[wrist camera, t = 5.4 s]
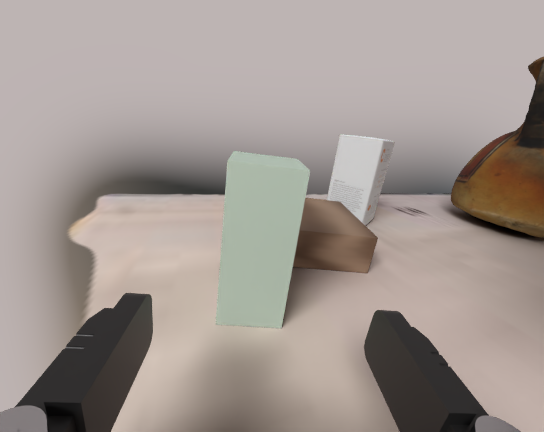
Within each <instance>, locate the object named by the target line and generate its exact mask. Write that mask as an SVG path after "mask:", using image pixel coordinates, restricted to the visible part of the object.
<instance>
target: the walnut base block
mask: <svg viewBox="0 0 544 432" xmlns="http://www.w3.org/2000/svg"><path fill="white" fill-rule="evenodd" d="M377 239H378V238H377V237H376V236H375V235H374V234H373V233H372V232H371V231H370V230H369V229H368V228H367V227H366V226H365V225H364V224H363V223H362V222H361V221H360V220H359V219H358V218H357V217H356V216H355V215H354V214H352V213H351V212H350V211H349V210H348V209H347V208H346V207H345V206H344V205H343V204H342V203H341V202H339V201H330V200H321V199H312V198H305V202H304V208H303V213H302V219H301V224H300V230H299V235H298V240H297V246H296V251H295V257H294V262H293V267H300V268H312V269H324V270H336V271H348V272H360V273H368V269H369V266H370V263H371V259H372V256H373V253H374V249H375V246H376V243H377Z"/></svg>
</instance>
